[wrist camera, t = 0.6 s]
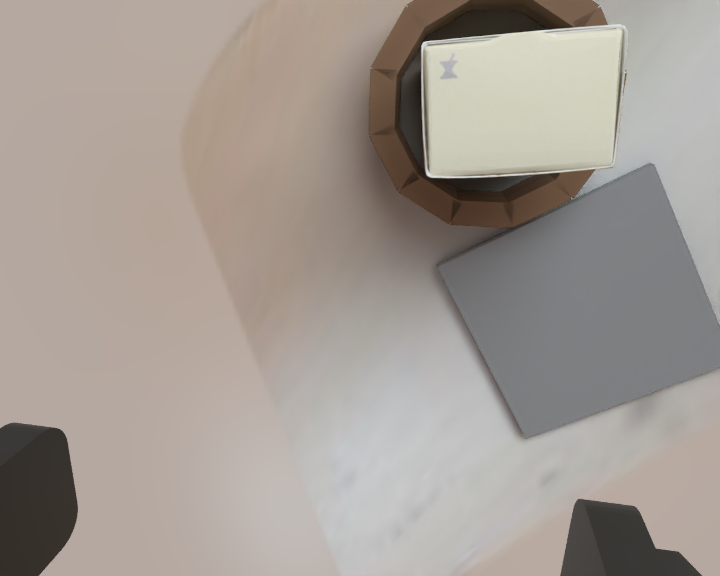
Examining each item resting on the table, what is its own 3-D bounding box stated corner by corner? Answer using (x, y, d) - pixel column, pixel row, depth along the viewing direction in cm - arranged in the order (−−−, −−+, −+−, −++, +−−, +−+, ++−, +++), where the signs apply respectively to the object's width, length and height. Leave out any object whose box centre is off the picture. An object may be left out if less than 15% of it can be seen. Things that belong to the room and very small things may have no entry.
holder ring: (546, -67, 26) (561, -91, 23) (635, 151, 29) (660, 157, 25) (339, 59, 29) (326, 54, 26) (436, 247, 32) (435, 264, 28)
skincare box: (424, 151, 30) (414, 182, 19) (421, 64, 29) (409, 40, 17) (549, 144, 29) (620, 172, 18) (552, 54, 28) (632, 20, 16)
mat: (649, 163, 29) (654, 164, 28) (728, 357, 31) (734, 362, 31) (436, 264, 32) (436, 267, 31) (524, 433, 34) (525, 439, 34)
